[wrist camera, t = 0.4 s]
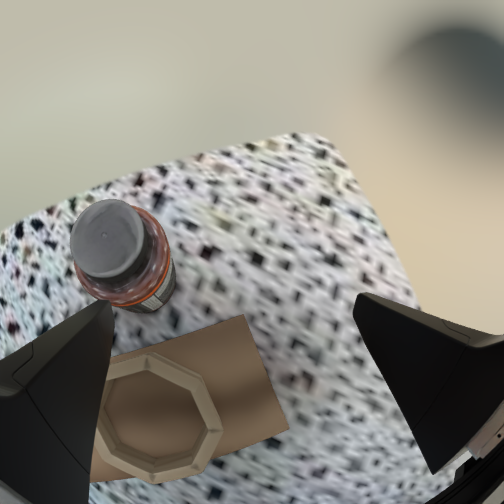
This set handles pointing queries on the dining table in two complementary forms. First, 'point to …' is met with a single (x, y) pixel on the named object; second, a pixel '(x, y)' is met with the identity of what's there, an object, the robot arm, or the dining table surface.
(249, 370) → the collar board
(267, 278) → the dining table surface
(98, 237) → the supplement bottle
